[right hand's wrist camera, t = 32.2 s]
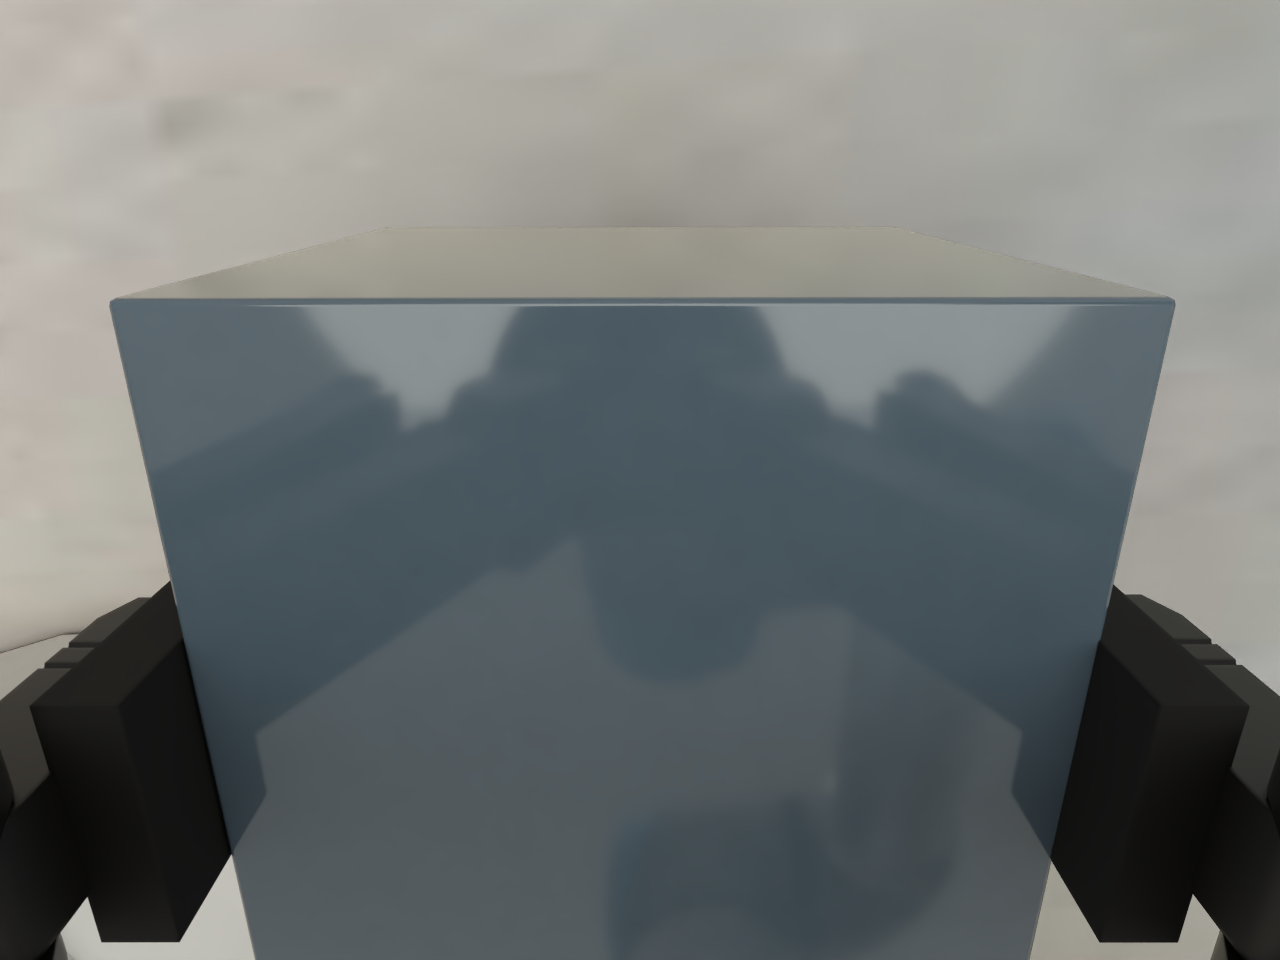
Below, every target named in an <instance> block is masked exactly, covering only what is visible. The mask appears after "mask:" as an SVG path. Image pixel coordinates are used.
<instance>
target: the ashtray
mask: <svg viewBox="0 0 1280 960" xmlns="http://www.w3.org/2000/svg"><path fill="white" fill-rule="evenodd" d="M77 635H78V634H74V635H61V636H57V637H54V638H50V639H47V640H44V641H40V642H37V643H34V644H30V645H27V646H23V647H20V648H17V649H13V650H10V651H7V652H3V653H0V700H1V699H2V698H3V697H5V696H6V695H7V694H8V693H9V692H11V691H12V690H13V689H14V688H15V687H17V686H18V685H19V684H20V683H21V682H23V681H24V680H25V679H26V678H27V677H28V676H30V675H31V674H32V673H33V672H34V671H36V670H37V669H38V668H44V666H45V665H44V663H45V662H46V661H47V660H49V659H50V658H51V657H52V656H53V655H55V654H56V653H57V652H58V651H59V650H61V649H62V648H68V646H69V642H70V641H71V640H72V639H74V638H75V637H76V636H77ZM61 935H62V939H63V942H64V945H65V948H66V951H67V956H68V960H255V958H254V953H253V949H252V944H251V940H250V935H249V931H248V926H247V922H246V917H245V913H244V908H243V904H242V899H241V895H240V890H239V886H238V881H237V877H236V872H235V868H234V863H233V859H232V854H231V856H230V858H229V859H228V861H227V863H226V865H225V866H224V868H223V870H222V871H221V873H220V875H219V876H218V878H217V880H216V882H215V883H214V885H213V887H212V888H211V890H210V892H209V893H208V895H207V897H206V898H205V900H204V902H203V904H202V905H201V907H200V909H199V910H198V912H197V914H196V915H195V917H194V919H193V921H192V922H191V924H190V926H189V927H188V929H187V931H186V932H185V934H184V936H183V937H182V939H181V941H180V942H120V943H101V940H100V936H99V933H98V930H97V926H96V923H95V920H94V917H93V913H92V910H91V907H90V904H89V900H88V897H87V898H86V899H85V901H84V902H83V903H82V905H81V906H80V907H79V909H78V910H77V911H76V913H75V914H74V915H73V917H72V918H71V919H70V921H69V922H68V923H67V925H66V926H65V927H64V929H63V930H62V931H61Z"/></svg>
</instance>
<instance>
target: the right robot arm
mask: <svg viewBox="0 0 1280 960" xmlns="http://www.w3.org/2000/svg"><path fill="white" fill-rule="evenodd" d="M44 665H45V666H44V668H38V669H37V670H36V671H34V672H33V673H32V674H31V675H30V676H28V677H27V678H26V679H25V680H24V681H23V682H21V683H20V684H19V685H18V686H17V687H15V688H14V689H13V690H12V691H11V692H9V693H8V694H7V695H6V696H5V697H3V698H2V699H1V700H0V960H68V956H67V951H66V948H65V945H64V942H63V939H62V935H61V931H62V930H63V929H64V927H65V926H66V925H67V923H68V922H69V921H70V919H71V918H72V917H73V915H74V914H75V913H76V911H77V910H78V909H79V907H80V906H81V905H82V903H83V902H84V901H85V899H86V898H87V897H88V900H89V904H90V907H91V910H92V913H93V917H94V920H95V923H96V926H97V930H98V933H99V936H100V940H101V943H120V942H180V941H181V939H182V937H183V936H184V934H185V932H186V931H187V929H188V927H189V926H190V924H191V922H192V921H193V919H194V917H195V915H196V914H197V912H198V910H199V909H200V907H201V905H202V904H203V902H204V900H205V898H206V897H207V895H208V893H209V892H210V890H211V888H212V887H213V885H214V883H215V882H216V880H217V878H218V876H219V875H220V873H221V871H222V870H223V868H224V866H225V865H226V863H227V861H228V859H229V858H230V856H231V850H230V845H229V841H228V836H227V832H226V827H225V823H224V819H223V814H222V810H221V805H220V801H219V796H218V792H217V787H216V783H215V778H214V774H213V769H212V765H211V760H210V756H209V751H208V747H207V742H206V738H205V733H204V729H203V724H202V720H201V715H200V711H199V706H198V702H197V697H196V693H195V688H194V684H193V679H192V675H191V670H190V666H189V661H188V657H187V652H186V648H185V644H184V639H183V635H182V630H181V626H180V621H179V617H178V612H177V608H176V603H175V599H174V594H173V590H172V585H171V581H169V582H168V583H167V584H166V585H165V586H164V587H162V588H161V589H160V590H159V591H158V592H157V593H156V594H155V595H153V596H152V597H151V598H137V599H135V600H133V601H131V602H129V603H127V604H125V605H123V606H121V607H119V608H117V609H115V610H113V611H111V612H109V613H107V614H105V615H103V616H101V617H99V618H97V619H96V620H95V621H94V622H93V623H92V624H90V625H89V626H88V627H87V628H86V629H84V630H83V631H82V632H81V633H80V634H78V635H77V636H76V637H75V638H74V639H72V640H71V641H70V642H69V646H68V648H62V649H61V650H59V651H58V652H57V653H56V654H55V655H53V656H52V657H51V658H50V659H49V660H47V661H46V662H45V663H44ZM1050 859H1051V861H1052V862H1053V864H1054V866H1055V867H1056V869H1057V871H1058V873H1059V874H1060V876H1061V878H1062V879H1063V881H1064V883H1065V884H1066V886H1067V888H1068V889H1069V891H1070V893H1071V895H1072V896H1073V898H1074V900H1075V901H1076V903H1077V905H1078V906H1079V908H1080V910H1081V912H1082V913H1083V915H1084V917H1085V918H1086V920H1087V922H1088V923H1089V925H1090V927H1091V928H1092V930H1093V932H1094V934H1095V935H1096V937H1097V939H1098V940H1099V942H1178V940H1179V937H1180V934H1181V930H1182V927H1183V924H1184V921H1185V917H1186V914H1187V911H1188V908H1189V904H1190V901H1191V898H1192V894H1194V896H1195V897H1196V898H1197V900H1198V901H1199V902H1200V904H1201V905H1202V906H1203V908H1204V909H1205V910H1206V912H1207V913H1208V914H1209V916H1210V917H1211V918H1212V920H1213V921H1214V922H1215V924H1216V925H1217V926H1218V928H1219V929H1220V932H1219V935H1218V939H1217V942H1216V945H1215V948H1214V951H1213V954H1212V957H1211V960H1280V696H1279V695H1277V694H1276V693H1275V692H1274V691H1273V690H1271V689H1270V688H1269V687H1268V686H1267V685H1265V684H1264V683H1263V682H1262V681H1261V680H1259V679H1258V678H1257V677H1256V676H1255V675H1253V674H1252V673H1251V672H1250V671H1249V670H1247V669H1246V668H1245V667H1244V666H1243V665H1236V660H1235V659H1234V658H1233V657H1232V656H1231V655H1229V654H1228V653H1227V652H1226V651H1225V650H1223V649H1222V648H1221V647H1220V646H1219V645H1217V644H1212V643H1211V639H1210V638H1209V637H1208V636H1207V635H1205V634H1204V633H1203V632H1202V631H1201V630H1199V629H1198V628H1197V627H1196V626H1195V625H1193V624H1192V623H1191V622H1190V621H1189V620H1187V619H1186V618H1185V617H1184V616H1183V615H1181V614H1179V613H1177V612H1175V611H1173V610H1171V609H1169V608H1167V607H1165V606H1163V605H1161V604H1159V603H1157V602H1155V601H1153V600H1151V599H1149V598H1147V597H1145V596H1143V595H1125V594H1123V593H1122V592H1121V591H1120V590H1119V589H1118V588H1117V587H1116V586H1115V585H1113V587H1112V592H1111V596H1110V600H1109V605H1108V609H1107V614H1106V618H1105V623H1104V627H1103V632H1102V636H1101V640H1100V641H1099V642H1098V646H1097V651H1096V655H1095V660H1094V664H1093V669H1092V673H1091V678H1090V682H1089V687H1088V691H1087V696H1086V700H1085V705H1084V709H1083V714H1082V718H1081V723H1080V727H1079V732H1078V736H1077V740H1076V745H1075V749H1074V754H1073V758H1072V763H1071V767H1070V772H1069V776H1068V781H1067V785H1066V790H1065V794H1064V799H1063V803H1062V808H1061V812H1060V817H1059V821H1058V826H1057V830H1056V835H1055V839H1054V844H1053V848H1052V853H1051V857H1050Z"/></svg>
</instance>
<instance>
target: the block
mask: <svg viewBox="0 0 1280 960" xmlns="http://www.w3.org/2000/svg"><path fill="white" fill-rule="evenodd" d="M109 307H110V311H111V316H112V320H113V325H114V329H115V334H116V338H117V343H118V347H119V352H120V356H121V361H122V365H123V370H124V374H125V379H126V383H127V388H128V392H129V397H130V401H131V406H132V410H133V415H134V419H135V424H136V428H137V433H138V437H139V442H140V446H141V451H142V455H143V460H144V464H145V469H146V473H147V477H148V482H149V486H150V491H151V495H152V500H153V504H154V509H155V513H156V518H157V522H158V527H159V531H160V536H161V540H162V545H163V549H164V554H165V558H166V563H167V567H168V572H169V576H170V581H171V585H172V590H173V594H174V599H175V603H176V608H177V612H178V617H179V621H180V626H181V630H182V635H183V639H184V644H185V648H186V652H187V657H188V661H189V666H190V670H191V675H192V679H193V684H194V688H195V693H196V697H197V702H198V706H199V711H200V715H201V720H202V724H203V729H204V733H205V738H206V742H207V747H208V751H209V756H210V760H211V765H212V769H213V774H214V778H215V783H216V787H217V792H218V796H219V801H220V805H221V810H222V814H223V819H224V823H225V827H226V832H227V836H228V841H229V845H230V850H231V854H232V859H233V863H234V868H235V872H236V877H237V881H238V886H239V890H240V895H241V899H242V904H243V908H244V913H245V917H246V922H247V926H248V931H249V935H250V940H251V944H252V949H253V953H254V958H255V960H1029V959H1030V954H1031V950H1032V945H1033V941H1034V936H1035V932H1036V927H1037V923H1038V918H1039V914H1040V910H1041V905H1042V901H1043V896H1044V892H1045V887H1046V883H1047V878H1048V874H1049V869H1050V865H1051V859H1050V857H1051V853H1052V848H1053V844H1054V839H1055V835H1056V830H1057V826H1058V821H1059V817H1060V812H1061V808H1062V803H1063V799H1064V794H1065V790H1066V785H1067V781H1068V776H1069V772H1070V767H1071V763H1072V758H1073V754H1074V749H1075V745H1076V740H1077V736H1078V732H1079V727H1080V723H1081V718H1082V714H1083V709H1084V705H1085V700H1086V696H1087V691H1088V687H1089V682H1090V678H1091V673H1092V669H1093V664H1094V660H1095V655H1096V651H1097V646H1098V642H1099V641H1100V640H1101V636H1102V632H1103V627H1104V623H1105V618H1106V614H1107V609H1108V605H1109V600H1110V596H1111V592H1112V587H1113V583H1114V578H1115V574H1116V569H1117V565H1118V560H1119V556H1120V551H1121V547H1122V542H1123V538H1124V533H1125V529H1126V524H1127V520H1128V515H1129V511H1130V506H1131V502H1132V497H1133V493H1134V488H1135V484H1136V480H1137V475H1138V471H1139V466H1140V462H1141V457H1142V453H1143V448H1144V444H1145V439H1146V435H1147V430H1148V426H1149V421H1150V417H1151V412H1152V408H1153V403H1154V399H1155V394H1156V390H1157V385H1158V381H1159V377H1160V372H1161V368H1162V363H1163V359H1164V354H1165V350H1166V345H1167V341H1168V336H1169V332H1170V327H1171V323H1172V318H1173V314H1174V309H1175V300H1174V299H1172V298H1170V297H1168V296H1164V295H1160V294H1156V293H1152V292H1148V291H1144V290H1140V289H1136V288H1132V287H1128V286H1124V285H1120V284H1116V283H1112V282H1109V281H1105V280H1101V279H1097V278H1093V277H1089V276H1085V275H1081V274H1077V273H1073V272H1069V271H1065V270H1061V269H1057V268H1053V267H1049V266H1045V265H1042V264H1038V263H1034V262H1030V261H1026V260H1022V259H1018V258H1014V257H1010V256H1006V255H1002V254H998V253H994V252H990V251H986V250H982V249H979V248H975V247H971V246H967V245H963V244H959V243H955V242H951V241H947V240H943V239H939V238H935V237H931V236H927V235H923V234H919V233H915V232H912V231H908V230H904V229H900V228H896V227H387V228H383V229H379V230H375V231H371V232H368V233H364V234H360V235H356V236H352V237H348V238H344V239H341V240H337V241H333V242H329V243H325V244H321V245H318V246H314V247H310V248H306V249H302V250H298V251H294V252H291V253H287V254H283V255H279V256H275V257H271V258H268V259H264V260H260V261H256V262H252V263H248V264H244V265H241V266H237V267H233V268H229V269H225V270H221V271H218V272H214V273H210V274H206V275H202V276H198V277H194V278H191V279H187V280H183V281H179V282H175V283H171V284H168V285H164V286H160V287H156V288H152V289H148V290H145V291H141V292H137V293H133V294H129V295H125V296H121V297H118V298H115V299H113V300H111V301H110V306H109Z"/></svg>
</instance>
